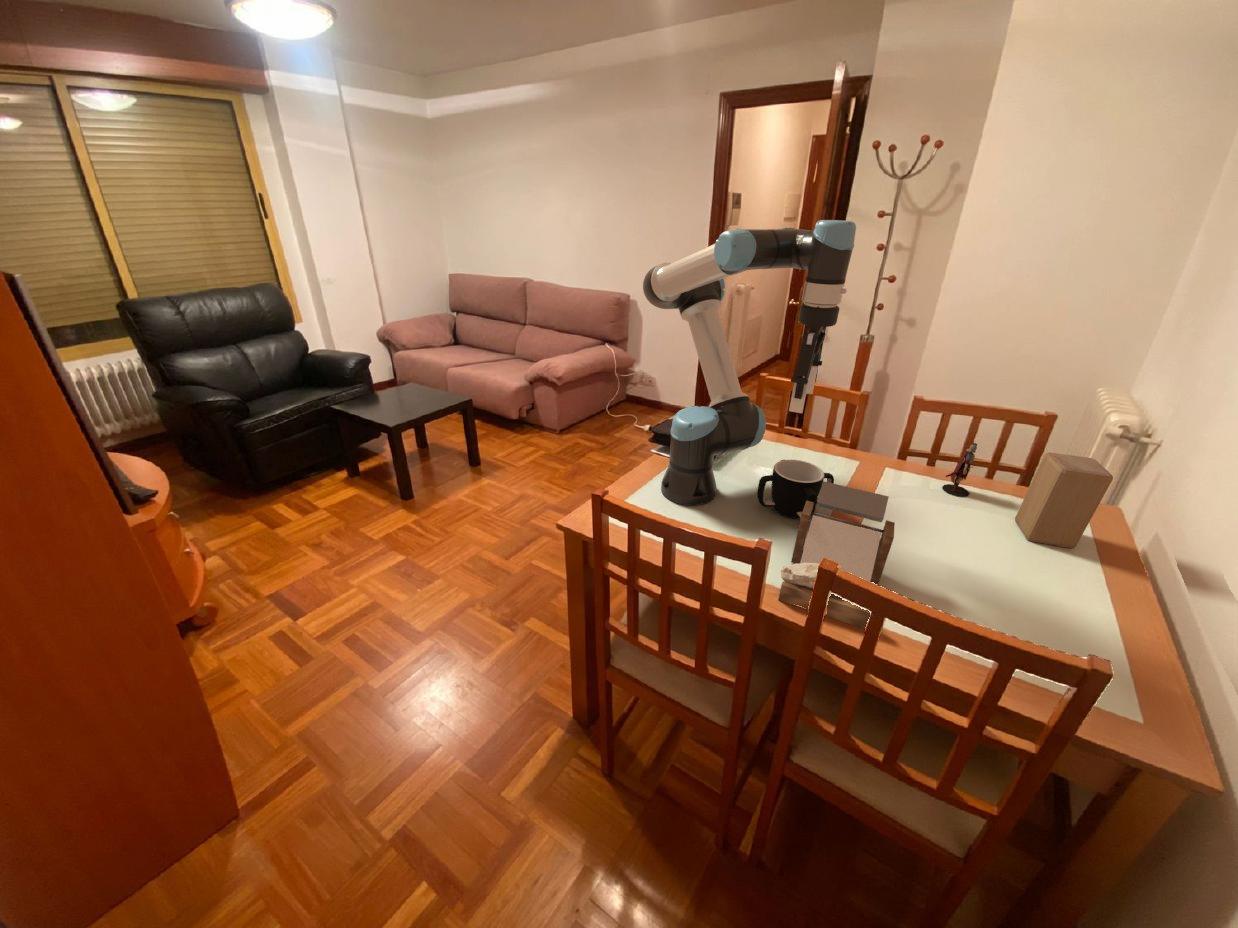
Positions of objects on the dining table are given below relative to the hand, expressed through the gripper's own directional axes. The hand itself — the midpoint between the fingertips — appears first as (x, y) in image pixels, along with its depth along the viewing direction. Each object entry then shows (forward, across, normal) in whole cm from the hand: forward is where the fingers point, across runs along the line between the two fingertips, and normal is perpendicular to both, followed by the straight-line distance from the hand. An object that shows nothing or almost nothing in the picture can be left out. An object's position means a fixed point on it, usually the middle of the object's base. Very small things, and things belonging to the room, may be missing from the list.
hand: (801, 402), depth 112 cm
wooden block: (+32, +25, -59) cm, 72 cm away
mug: (+32, +6, -2) cm, 33 cm away
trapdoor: (+23, -13, -15) cm, 30 cm away
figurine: (+32, +39, -41) cm, 65 cm away
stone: (+28, -22, -12) cm, 38 cm away
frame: (+32, -20, -15) cm, 40 cm away
